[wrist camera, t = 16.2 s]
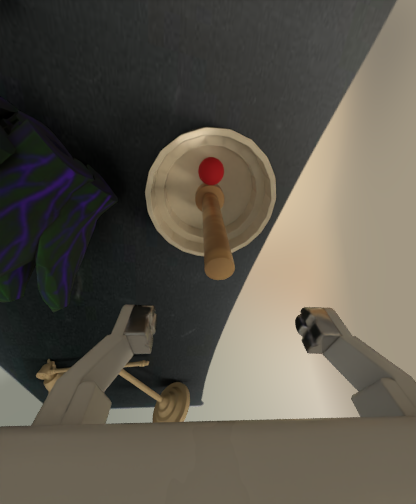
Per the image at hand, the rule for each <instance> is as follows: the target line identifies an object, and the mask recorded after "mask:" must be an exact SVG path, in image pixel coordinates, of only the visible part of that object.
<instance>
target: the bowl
mask: <svg viewBox="0 0 416 504" xmlns="http://www.w3.org/2000/svg"><path fill="white" fill-rule="evenodd" d="M208 157H215V158H217V159H219V160H220V161H221V163H222V164H223V167H224V175H223V178H222V180H221V181H220V182H219V183H218V184H217V185H219V186H220V187H221V189H222V191H223V194H224V204H223V206H222V208H221V213H222V217H223V221H224V225H225V229H226V233H227V237H228V241H229V245H230V249H231V253H232V252H234V251H236V250H238V249H240V248H242V247H244V246H246V245H248V244H249V243H250V242H251V241H252V240H253V239H254V238H256V237H257V236H258V235H259V234H260V233H261V232H262V230H263V228H264V227H265V225H266V224H267V222H268V221H269V219H270V217H271V214H272V211H273V208H274V204H275V201H276V179H275V175H274V173H273V170H272V167H271V165H270V162H269V160H268V158H267V156H266V155H265V154H264V153H263V152H262V151H261V150H260V148H259V147H258V146H257V145H256V144H255V143H254V142H253V141H252V140H251V139H249V138H247V137H245V136H243V135H241V134H239V133H237V132H235V131H233V130H231V129H227V128H221V127H208V126H203V127H199V128H196V129H193V130H190V131H187V132H184V133H182V134H181V135H180V136H178V137H177V138H176V139H175V140H173V141H172V142H171V143H170V144H168V145H167V146H166V147H165V148H163V149H162V150H161V151H160V153H159V155H158V156H157V158H156V160H155V161H154V163H153V165H152V166H151V168H150V170H149V173H148V179H147V184H146V189H145V196H146V203H147V210H148V214H149V216H150V218H151V220H152V222H153V224H154V226H155V228H156V230H157V231H158V232H159V233H160V234H161V235H162V236H163V237H164V238H165V239H166V240H167V241H168V242H169V243H170V244H172V245H173V246H175V247H177V248H178V249H180V250H182V251H184V252H187V253H191V254H194V255H198V256H204V241H203V217H202V212H201V211H200V210H199V209H198V208H197V206H196V203H195V194H196V191H197V189H198V187H199V186H200V185H202V184H203V182H202V181H201V179H200V177H199V174H198V169H199V165H200V163H201V162H202V161H203V160H204V159H205V158H208Z"/></svg>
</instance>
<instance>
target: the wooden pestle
mask: <svg viewBox="0 0 416 504" xmlns="http://www.w3.org/2000/svg"><path fill="white" fill-rule="evenodd" d="M195 203H196V206H197V208H198V209H199V210H200V211H201V212H202V217H203V241H204V265H205V273H206V275H207V276H208V277H210V278H211V279H215V280H223V279H226V278H228V277H230V276H231V275H232V274H233V272H234V270H235V265H234V261H233V257H232V253H231V249H230V245H229V241H228V237H227V233H226V229H225V225H224V221H223V217H222V213H221V208H222V206H223V204H224V194H223V191H222V189H221V187H220V186H219V185H217V184H216V185H207V184H205V183H203V184H202V185H200V186H199V187H198V189H197V191H196V194H195Z"/></svg>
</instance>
